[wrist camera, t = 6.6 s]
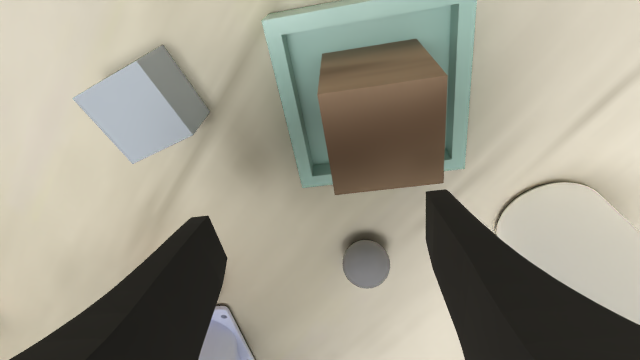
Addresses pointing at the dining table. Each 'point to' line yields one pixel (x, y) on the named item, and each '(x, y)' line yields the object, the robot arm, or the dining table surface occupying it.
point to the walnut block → (383, 116)
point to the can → (577, 243)
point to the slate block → (145, 105)
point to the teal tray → (361, 31)
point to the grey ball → (366, 264)
